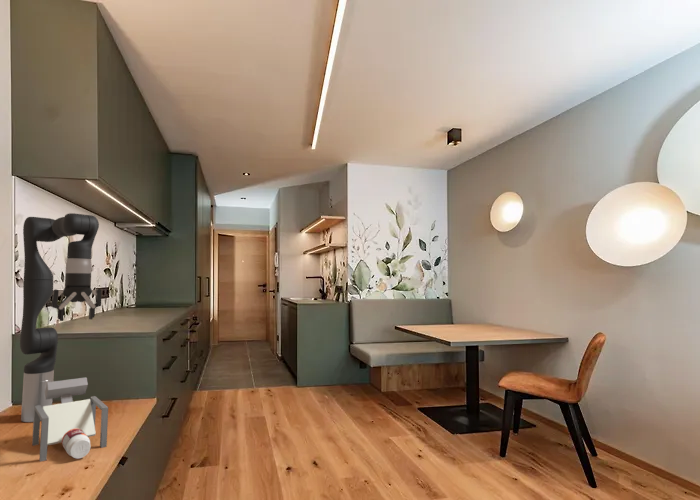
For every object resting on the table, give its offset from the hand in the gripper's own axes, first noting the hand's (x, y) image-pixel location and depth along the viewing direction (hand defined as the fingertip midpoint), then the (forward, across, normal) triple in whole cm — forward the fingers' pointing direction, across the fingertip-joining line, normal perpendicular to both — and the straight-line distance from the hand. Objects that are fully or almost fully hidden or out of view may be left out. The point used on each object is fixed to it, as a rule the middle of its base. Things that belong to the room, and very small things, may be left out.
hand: (76, 320), depth 147 cm
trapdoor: (+29, +2, +6) cm, 30 cm away
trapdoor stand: (+38, +2, +10) cm, 39 cm away
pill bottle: (+35, +2, +13) cm, 38 cm away
